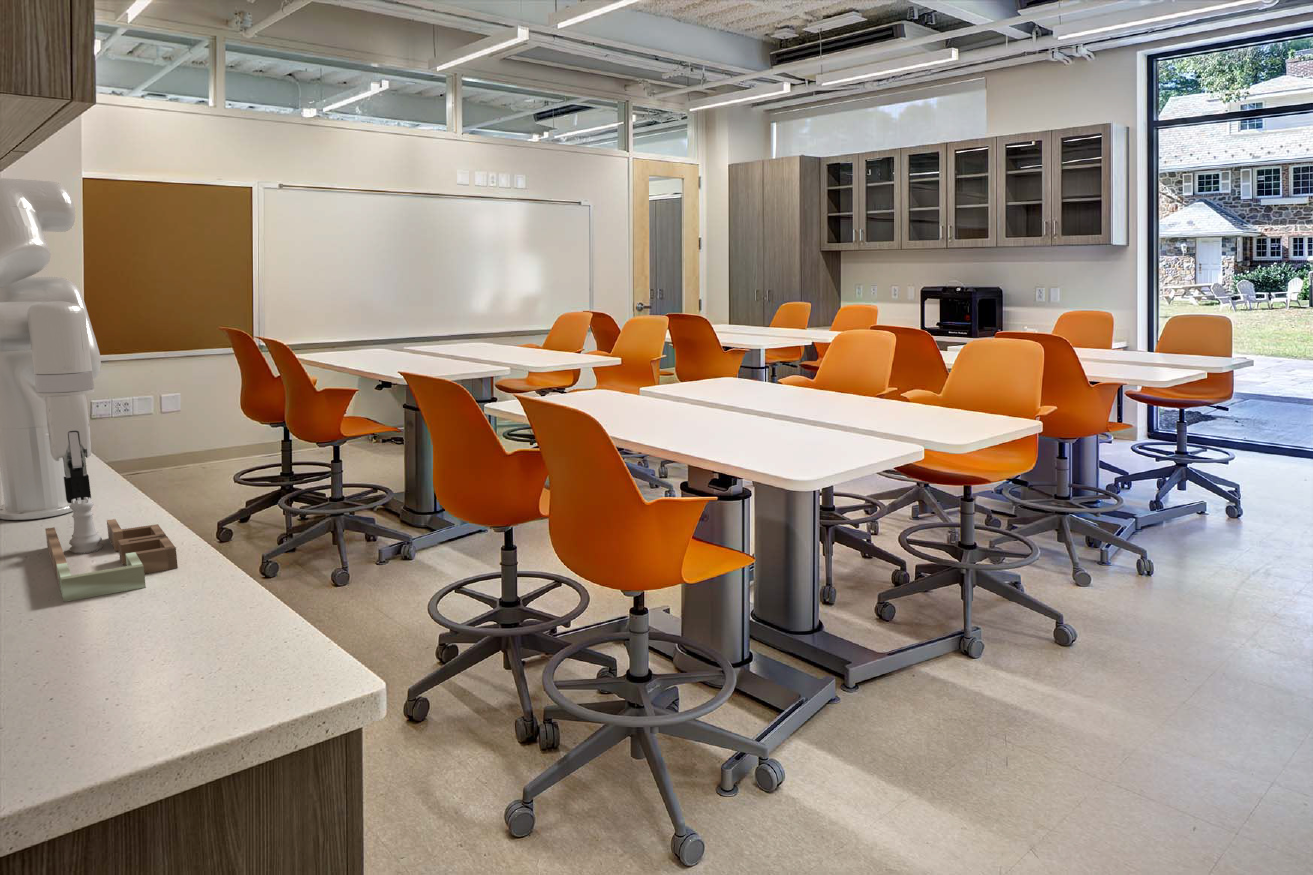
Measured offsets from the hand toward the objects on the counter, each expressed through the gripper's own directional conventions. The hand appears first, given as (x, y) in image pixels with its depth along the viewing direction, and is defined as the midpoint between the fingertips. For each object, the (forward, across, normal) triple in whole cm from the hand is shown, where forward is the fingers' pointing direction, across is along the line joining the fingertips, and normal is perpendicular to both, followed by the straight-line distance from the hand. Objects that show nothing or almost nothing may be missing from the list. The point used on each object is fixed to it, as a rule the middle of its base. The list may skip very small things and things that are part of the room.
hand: (79, 500), depth 145 cm
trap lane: (+7, +15, +2) cm, 17 cm away
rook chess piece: (+7, +5, 0) cm, 9 cm away
